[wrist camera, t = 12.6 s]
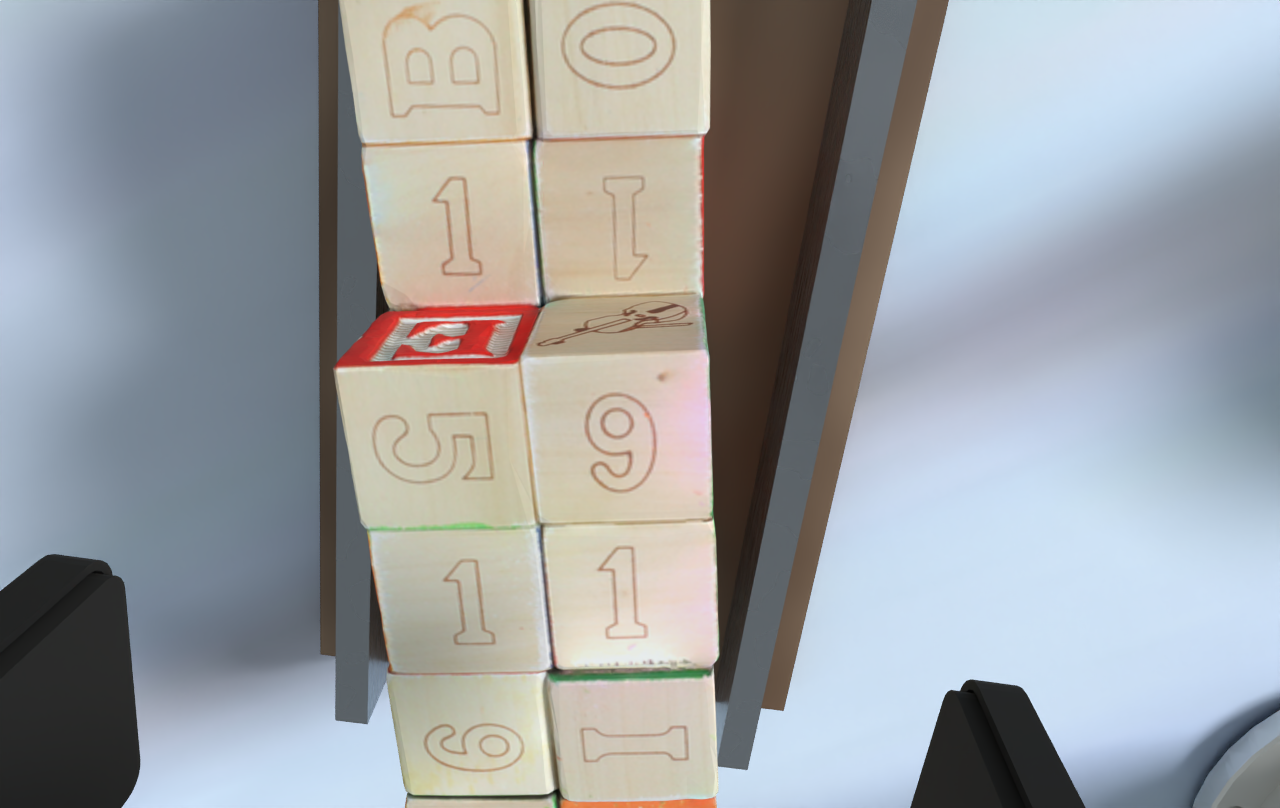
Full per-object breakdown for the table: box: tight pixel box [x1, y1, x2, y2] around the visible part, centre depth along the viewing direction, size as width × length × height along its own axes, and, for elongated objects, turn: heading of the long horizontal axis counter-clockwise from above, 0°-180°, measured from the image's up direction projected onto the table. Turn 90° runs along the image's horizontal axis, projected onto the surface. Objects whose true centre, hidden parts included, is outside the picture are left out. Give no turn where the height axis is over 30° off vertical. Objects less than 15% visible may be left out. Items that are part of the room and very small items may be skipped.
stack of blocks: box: [333, 0, 719, 808], centre depth 21 cm, size 21×6×12 cm, turn 2°
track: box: [318, 0, 949, 770], centre depth 26 cm, size 16×28×4 cm, turn 173°
